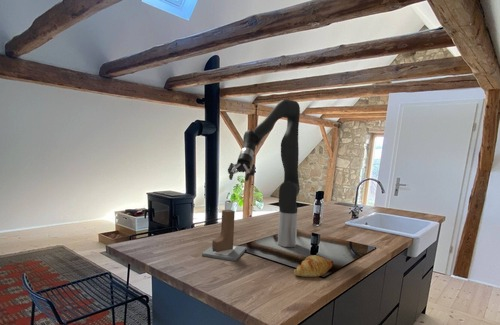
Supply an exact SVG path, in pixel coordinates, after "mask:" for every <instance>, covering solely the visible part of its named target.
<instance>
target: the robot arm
mask: <svg viewBox="0 0 500 325" xmlns="http://www.w3.org/2000/svg"><path fill="white" fill-rule="evenodd" d="M300 113H301V107H300V104H299V102H298V101H297V100H296V101H295V100H291V99H286V98H285V99H281V100H280V101H279V102H278V103H277V104H276V105H275V106H274V107H273V109H272V110H271V111H270V112H269V114H268V115H267V116H266V118H264V120H263V121H261V122H260V123H259V124H258V125H257V126H255V128H254V130H253V129H247V130H246V131H245V132H244V134H243V138H242V140H243V141H242V142H243V143H242V144H243V146H242V148H241V150H240V152H239V156H238V158H237V162H236V163H233V162H230V164H229V167H228V169H227V173H228V174H229V176H228V177H229V180H230V181H232V180H233V178H234V175H235V174H237V173H246V175H245V178H244V181H245V182H248V181H249V180H250V177H251V176H253V177H254V175H255V171H256V165H255V164H252V163H253V162H252V161H253V158H254V153H255V149H256V147H257V146H259V145H260V143H261V141H262V140H263V139H264V137H265V136H266V135H268V134H269V133H270V132H271V131H272V130H273V128H274V127H275V124H276V122H277V121H278V120H280V119H283V118H286V120H287V124H286V125H287V126H286V130H285V133H284V134H283V137H282V139H281V142H280V158H281V162H282V167H283V170H284V171H283V173H284V176H283V177H284V178H283V179H284V180H283V182H282V183H281V185H280V186H279V190H278V207H279V211H278V228H277V229H278V230H277V231H278V232H277V236H278V237H277V245H278V246H280V247H284V248H295V247H296V245H297V235H298V231H297V230H298V226H297V225H298V224H297V223H298V222H297V221H298V206H297V196H298V195H299V193H300V180H299V155H300V153H299V151H300V150H299V125H300ZM249 170H250V171H249Z"/></svg>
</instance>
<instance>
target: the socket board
mask: <svg viewBox="0 0 500 325" xmlns="http://www.w3.org/2000/svg"><path fill="white" fill-rule="evenodd" d="M246 249H247V246H241V245H234V244H233V249H229V250H224V251H219V252H216V251H215V250H213V249H212V245H211V246H210V247H208V248H207V249H205V250H204V251H203V252H202V253H201V256H202V257H207V258H213V259H219V260H226V261H231V262H237V260H238V259H240V257H241V256H242V255H243V254H244V253H245V252H246V251H247V250H246ZM245 250H246V251H245Z"/></svg>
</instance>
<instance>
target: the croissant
mask: <svg viewBox="0 0 500 325" xmlns="http://www.w3.org/2000/svg"><path fill="white" fill-rule="evenodd" d="M300 263H301V264H299V265H297V267H296V268H295V269H293V274H294V276H298V277H304V278H305V277H307V278H309V277H311V278H312V277H314V278H315V277H318V278H319V277H320V276H323V275H325V274H327V272H328V271H329V270H330V269H332V268H333V263H334V261H333V260H331V259H327V258H324V257H323V256H322V255H321V256H320V255H317V254H316V255H315V254H314V255H313V254H312V255H309V256H307V257H306V258H304V260H302V261H301V262H300Z"/></svg>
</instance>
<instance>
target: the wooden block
mask: <svg viewBox="0 0 500 325" xmlns="http://www.w3.org/2000/svg"><path fill="white" fill-rule="evenodd" d="M235 212H236V211H235V210H233V209H222V210H221V229H220V234H219V236H218V237H216V238H215V239H212V245H211V246H212V249H213V250H215V251H216V252H219V251H224V250H229V249H233V245H234V235H235V234H234V233H235V232H234V231H235Z"/></svg>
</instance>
